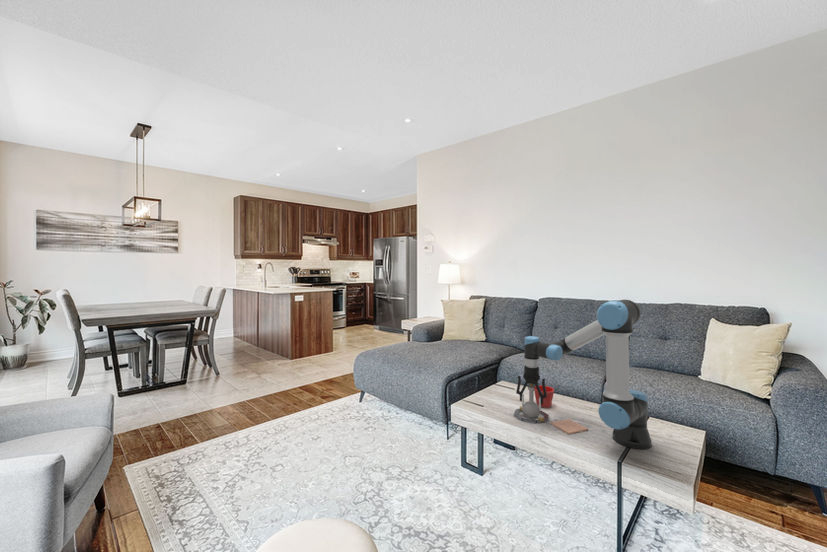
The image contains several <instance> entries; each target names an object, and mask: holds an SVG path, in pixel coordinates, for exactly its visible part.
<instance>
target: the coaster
mask: <svg viewBox="0 0 827 552" xmlns="http://www.w3.org/2000/svg"><path fill="white" fill-rule="evenodd" d="M550 425H551V426H553V427H554V428H556V429H558V430H560V431H562V432H563V433H566V434H567V435H572V434H578V433H582V432H586V431H589V428H587V427H586V426H584V425H582V424H581V423H577V422H576V421H574V420H572V419H570V418H567V419H561V420H556V421H550Z"/></svg>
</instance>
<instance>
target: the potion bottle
mask: <svg viewBox="0 0 827 552" xmlns="http://www.w3.org/2000/svg"><path fill="white" fill-rule="evenodd" d="M527 390H528V391H529V395H528V397H529V398H528V399H529V400H528V401H525V402H524V406H523V409H522V410H523V412H522V414H523V415H524V418H525V419H531V420H537V419H538V417H540V415H541V414H540V411H539V406H538V404H537V403H536V401H534V400H535V399H534V396H535V392H534V390H535V384H531V383H530V384H528V385H527Z"/></svg>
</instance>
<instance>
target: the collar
mask: <svg viewBox="0 0 827 552" xmlns="http://www.w3.org/2000/svg"><path fill="white" fill-rule="evenodd" d="M522 409H523V408H522V405H520V406H519V408H516V409H515V411H514V412H513V416H514V417H515V418H516V419H518V420H520V421H521V422H523V423H529V424H534V425H535V424H537V425H539V424H543V423H548V421H549V418H550V417H549V414H548V413H546V412H545V411H543V410H541V411H540V414H539V415H541V416H538V418H537V419H530V418H526V417H523V416H521V415H520V413H523V410H522ZM542 416H543V417H542Z"/></svg>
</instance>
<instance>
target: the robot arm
mask: <svg viewBox="0 0 827 552" xmlns="http://www.w3.org/2000/svg"><path fill="white" fill-rule="evenodd" d="M641 315H642V312H641V308H640V306H639V305H638V304H637V303H636V302H635V301H632V300H630V299H619V300H617V299H616V300H609V301H607V302H604V303H603V304H601V305H600V306H599V307H598V309H597V311H596V320H594V321H593V322H591V323H588V324H587V325H585V326H584V327H582V328H580V329H579V330H577V331H575V332H572V333H571V334H570V335H568V336H565V337H564V338H563V339H560V340H558V341H553V342H550V343H549V342H542V341H540V337H538V336H533V335H528V336H525V337H524V342H523V345H524V346H523V349H524V350H523V351H524V355H523V356H524V357H523V364H524V366H523V374H518V375H517V378H518V381H517V388H516V392H515V393H516V394H517V395H519V401H520V402H521V406H522V408H523V406H524V404H525V394H523V393H524V392H525V391H526V388H527V387H528V385H529V384H530V383H531V384H534V386H536V388H537V390H538V393H539V395H540V397H539V411H542V407H541V404H543V398H546V397H547V393H546V387H545V386H546V383H545V382H546V377H541V376H540V358H543V359H547V360H551V361H559V360H561V359H562V357H563V356H568V355H570V354H572V353H573V352H575V350H578V349H580V348H582V347H584V346H586V345H587V344H589V343H592V342H594V341H595V340H597V339H599V338H601V337H603V336H605V370H606V371H605V373H606V374H605V375H606V377H605V379H606V383H605V384H606V390H604V391H603V392H602V403H600V404H599V407H598V410H597V411H598V415H599V418H600V420H601V421H602V422H603V423H604V425H606V426H607V427H609V428H610V429H613V430H612V439H613V440H614V441H615V442H616V443H618V444H620V445H622V446H624V447H626V448H632V449H637V450H648V449H650V448H651V447H652V444H653V442H652V438H651V435H650V431H649V429H648V403H649V401H648V396H647V394H646V393H644V392H642V391H640V390H639V391H638V390H636V389H631V388H630V351H629V349H630V344H629V341H630V339H629V338H630V336H631V335H633V333H634V331H633V329H634V328H633V325H635V324H636V323H638V322H639V321H640V318H641ZM523 378H524V379H523ZM522 380H525V382H524V384H523V386H522V388H521V384H522ZM539 380H540V382H541V385H542V387H543V393H544V395H543V394H542V392H541V389H540V387H539V383H538V382H539ZM520 389H521V390H520Z"/></svg>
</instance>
